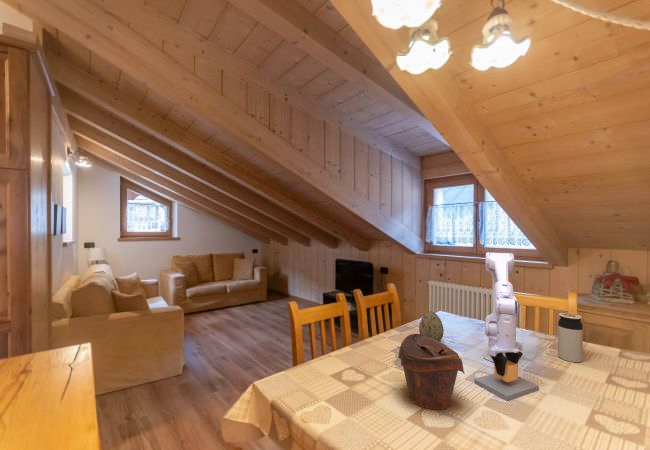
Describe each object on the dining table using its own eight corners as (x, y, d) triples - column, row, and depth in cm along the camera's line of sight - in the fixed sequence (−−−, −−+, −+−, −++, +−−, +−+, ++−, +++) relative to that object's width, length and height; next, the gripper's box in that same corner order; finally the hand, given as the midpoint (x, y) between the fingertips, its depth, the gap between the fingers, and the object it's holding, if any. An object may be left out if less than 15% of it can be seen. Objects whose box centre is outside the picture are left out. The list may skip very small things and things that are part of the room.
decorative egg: (416, 345, 142) (416, 312, 142) (422, 338, 152) (422, 307, 152) (440, 350, 137) (440, 316, 137) (445, 342, 146) (445, 310, 146)
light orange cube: (503, 372, 109) (503, 358, 109) (517, 379, 105) (517, 364, 105) (494, 375, 107) (494, 361, 107) (508, 382, 102) (508, 367, 103)
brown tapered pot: (459, 424, 85) (459, 358, 85) (389, 402, 96) (390, 344, 96) (468, 395, 100) (468, 339, 101) (407, 379, 111) (407, 329, 111)
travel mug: (561, 360, 127) (561, 316, 127) (555, 353, 134) (555, 311, 134) (585, 364, 124) (586, 319, 124) (578, 356, 131) (578, 313, 131)
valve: (399, 368, 119) (427, 365, 122) (399, 351, 119) (427, 348, 122) (391, 361, 125) (418, 358, 128) (392, 345, 125) (418, 342, 128)
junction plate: (504, 374, 115) (504, 360, 115) (538, 390, 104) (538, 375, 104) (474, 383, 108) (474, 368, 108) (507, 401, 97) (507, 385, 97)
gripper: (502, 340, 99) (502, 383, 99) (531, 334, 105) (531, 374, 105) (483, 333, 106) (483, 373, 106) (511, 327, 112) (511, 365, 112)
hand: (505, 373), depth 106 cm, fingers closed on light orange cube, 5 cm apart
